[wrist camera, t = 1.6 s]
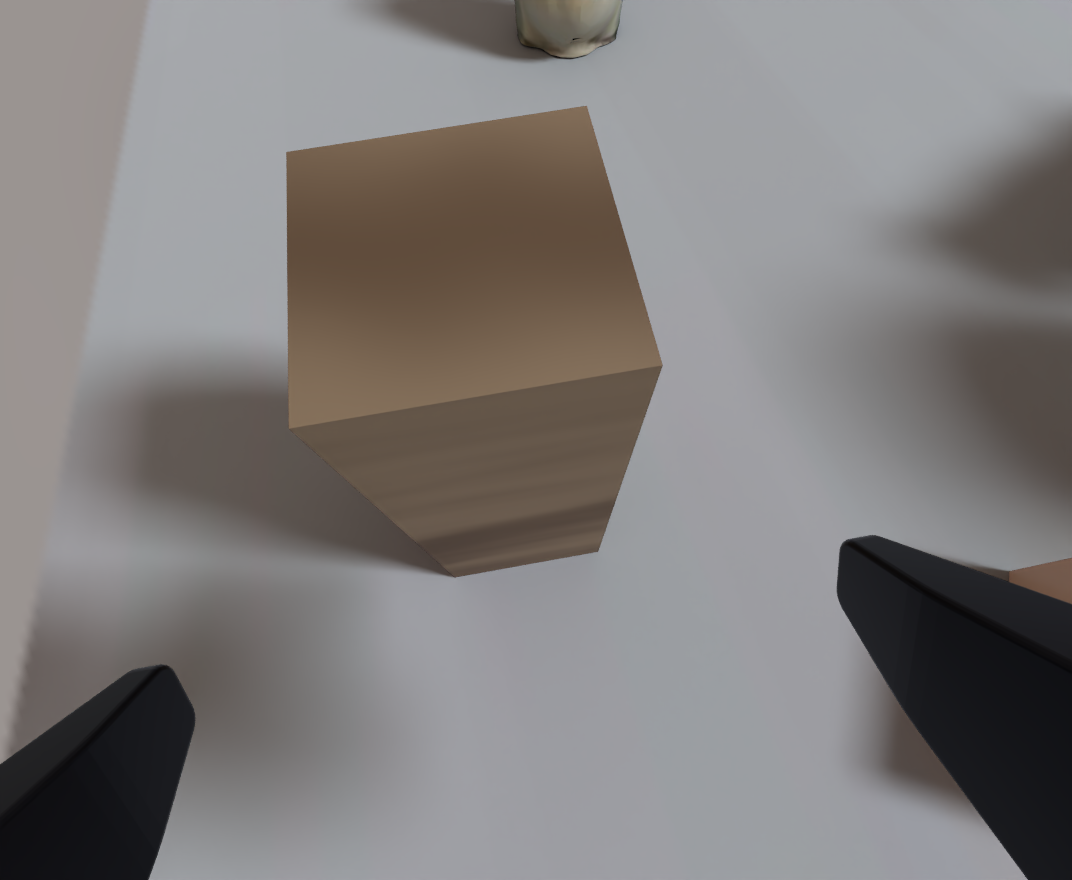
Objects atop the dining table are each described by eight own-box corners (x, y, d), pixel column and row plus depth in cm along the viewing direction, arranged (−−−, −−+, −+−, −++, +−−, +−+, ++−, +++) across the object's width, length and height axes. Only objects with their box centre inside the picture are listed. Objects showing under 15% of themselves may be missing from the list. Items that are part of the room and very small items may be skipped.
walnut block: (597, 551, 20) (662, 365, 8) (454, 577, 20) (288, 428, 7) (570, 421, 22) (586, 105, 9) (439, 443, 21) (286, 151, 9)
